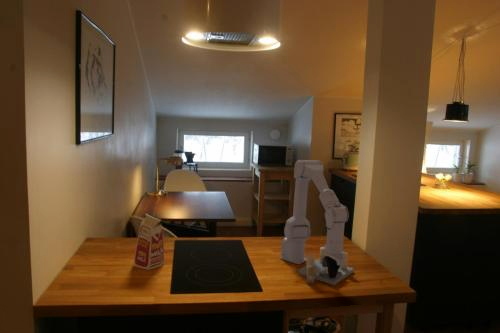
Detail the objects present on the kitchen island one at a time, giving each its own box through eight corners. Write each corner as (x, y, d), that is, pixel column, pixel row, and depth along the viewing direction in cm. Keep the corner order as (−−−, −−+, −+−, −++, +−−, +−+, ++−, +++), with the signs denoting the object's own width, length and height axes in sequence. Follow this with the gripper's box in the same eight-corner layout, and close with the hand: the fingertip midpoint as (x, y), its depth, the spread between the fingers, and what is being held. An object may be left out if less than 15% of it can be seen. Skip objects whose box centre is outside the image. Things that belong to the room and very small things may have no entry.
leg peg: (304, 282, 135) (305, 266, 134) (308, 279, 137) (309, 264, 136) (311, 284, 133) (312, 268, 132) (315, 282, 135) (316, 266, 134)
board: (298, 273, 143) (299, 254, 142) (319, 261, 156) (320, 244, 155) (334, 285, 133) (335, 265, 132) (353, 272, 146) (354, 253, 146)
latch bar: (335, 266, 143) (335, 261, 143) (341, 267, 141) (341, 263, 141) (324, 272, 136) (324, 268, 136) (330, 274, 134) (330, 269, 134)
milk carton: (133, 265, 143) (133, 215, 140) (149, 258, 151) (150, 210, 149) (150, 271, 138) (151, 219, 136) (167, 263, 147) (168, 214, 144)
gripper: (353, 247, 123) (350, 286, 124) (338, 234, 137) (336, 269, 138) (333, 247, 122) (330, 286, 123) (320, 233, 136) (317, 269, 138)
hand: (332, 277), depth 131 cm, fingers closed
